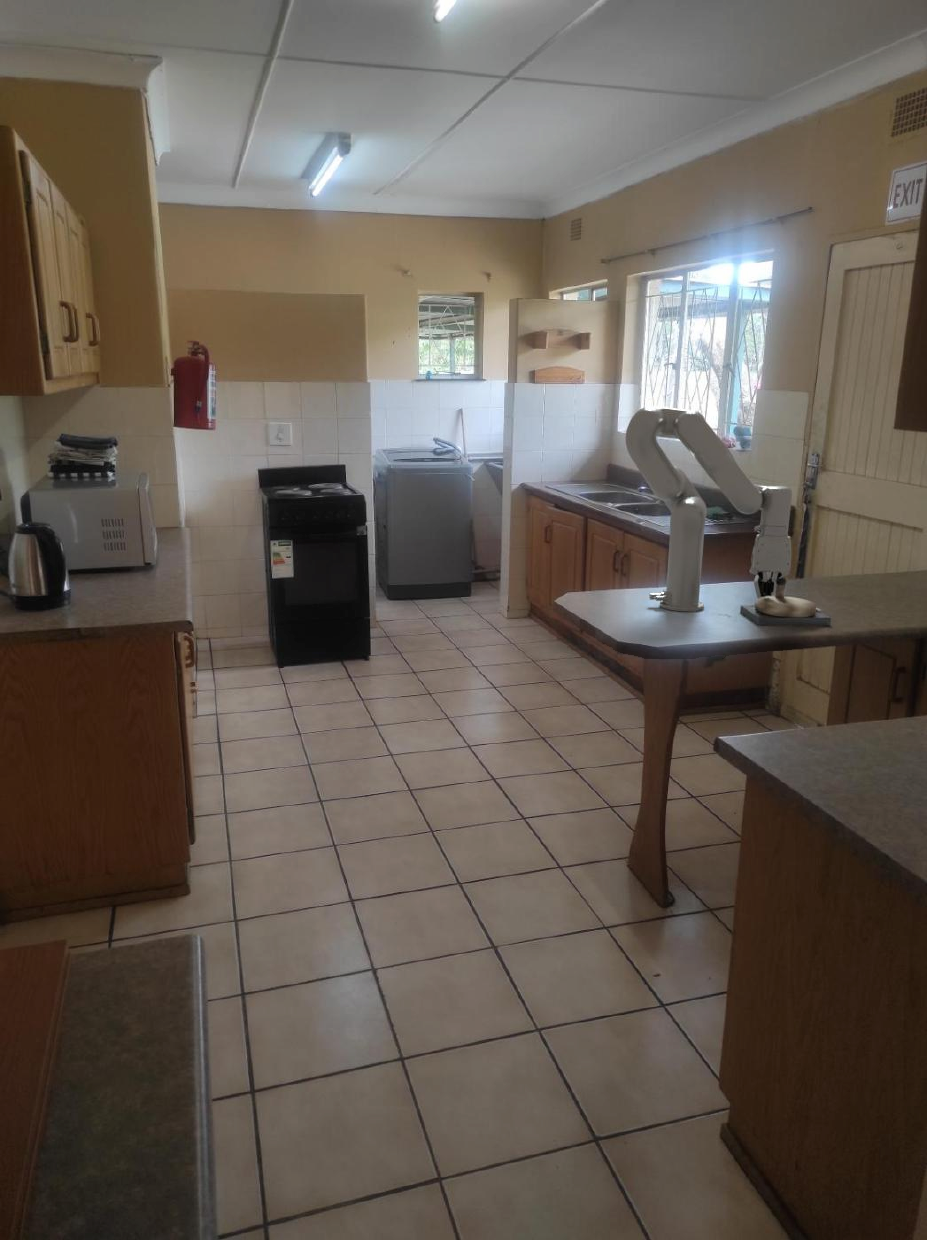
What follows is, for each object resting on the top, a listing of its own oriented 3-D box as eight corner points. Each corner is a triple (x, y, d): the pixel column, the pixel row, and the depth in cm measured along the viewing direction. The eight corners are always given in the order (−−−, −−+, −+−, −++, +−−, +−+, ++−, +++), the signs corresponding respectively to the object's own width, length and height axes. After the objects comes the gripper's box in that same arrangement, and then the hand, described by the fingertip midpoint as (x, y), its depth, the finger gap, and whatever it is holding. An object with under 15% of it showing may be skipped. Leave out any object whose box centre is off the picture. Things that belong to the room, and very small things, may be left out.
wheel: (762, 616, 237) (765, 587, 235) (749, 602, 252) (751, 575, 250) (823, 618, 236) (826, 589, 234) (805, 603, 251) (808, 576, 249)
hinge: (776, 606, 259) (767, 573, 258) (760, 609, 261) (751, 577, 260) (787, 595, 272) (779, 564, 272) (771, 598, 275) (763, 567, 274)
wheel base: (758, 625, 238) (759, 615, 237) (740, 612, 251) (740, 603, 250) (830, 625, 239) (831, 615, 238) (808, 612, 252) (809, 602, 251)
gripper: (749, 532, 241) (742, 596, 246) (804, 533, 240) (797, 598, 244) (743, 528, 248) (737, 590, 253) (797, 529, 247) (790, 592, 252)
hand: (767, 594), depth 249 cm, fingers closed
